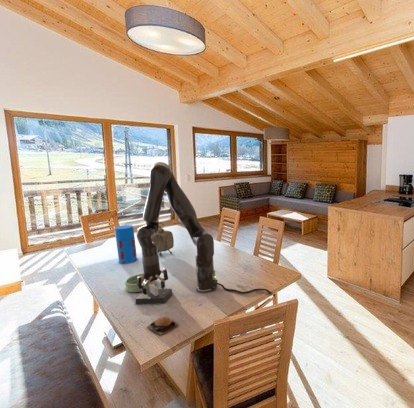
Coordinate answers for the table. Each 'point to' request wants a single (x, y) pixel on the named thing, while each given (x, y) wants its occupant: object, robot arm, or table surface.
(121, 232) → the thermos
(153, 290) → the red tipped lever
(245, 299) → the table surface
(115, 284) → the table surface
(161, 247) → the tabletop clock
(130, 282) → the basin
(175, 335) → the table surface
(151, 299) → the rotary switch dial
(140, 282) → the robot arm
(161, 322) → the open sandwich
